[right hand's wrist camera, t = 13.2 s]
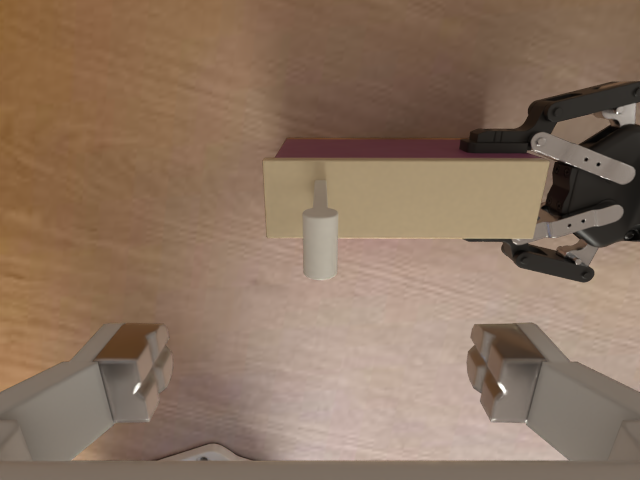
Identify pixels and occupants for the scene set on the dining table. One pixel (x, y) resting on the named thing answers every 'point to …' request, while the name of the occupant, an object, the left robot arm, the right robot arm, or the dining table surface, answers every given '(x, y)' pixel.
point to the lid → (398, 201)
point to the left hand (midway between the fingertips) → (458, 187)
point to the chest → (382, 148)
